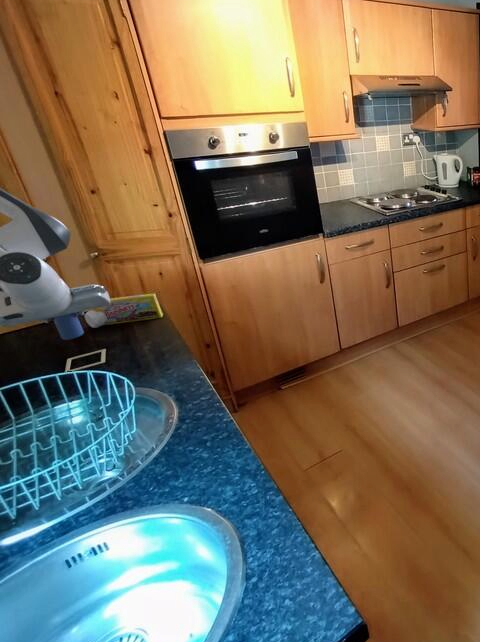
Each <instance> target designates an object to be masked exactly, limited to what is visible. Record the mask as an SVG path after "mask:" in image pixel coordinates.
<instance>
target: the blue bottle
mask: <svg viewBox="0 0 480 642" xmlns="http://www.w3.org/2000/svg"><path fill="white" fill-rule="evenodd" d="M52 318H53V321H54V322H53V323H54V325H55V327H56V329H57V332H58V334H59V336H60V339H62V340H64V341H66V340H73V339H76V338H79V337H81V336H83V335H84V334H85V331H84V328H83V327H82V324H81V322H80V320H79V316H76V315H75V313H70V314H66V315H61V316H57V317H52Z"/></svg>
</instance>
